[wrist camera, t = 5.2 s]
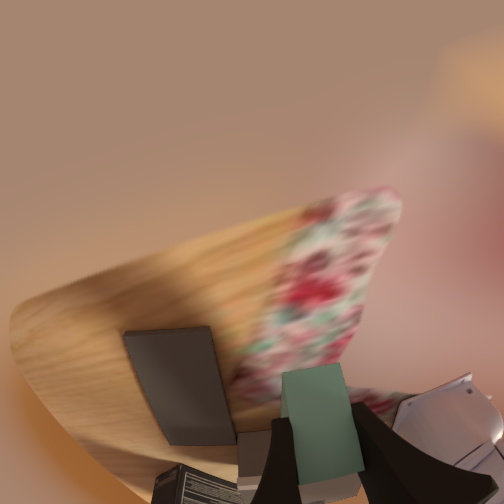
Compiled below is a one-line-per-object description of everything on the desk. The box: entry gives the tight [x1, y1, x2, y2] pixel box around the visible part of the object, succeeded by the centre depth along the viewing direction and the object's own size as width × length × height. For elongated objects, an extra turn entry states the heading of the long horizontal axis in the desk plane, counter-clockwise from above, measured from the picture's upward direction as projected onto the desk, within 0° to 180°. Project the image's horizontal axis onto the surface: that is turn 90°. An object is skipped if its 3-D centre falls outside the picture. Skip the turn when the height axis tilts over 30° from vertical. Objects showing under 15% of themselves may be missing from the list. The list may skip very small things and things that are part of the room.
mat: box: [123, 326, 237, 446], centre depth 19 cm, size 6×12×1 cm, turn 7°
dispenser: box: [237, 430, 362, 504], centre depth 18 cm, size 10×7×6 cm
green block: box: [281, 363, 365, 485], centre depth 12 cm, size 2×10×5 cm, turn 6°
